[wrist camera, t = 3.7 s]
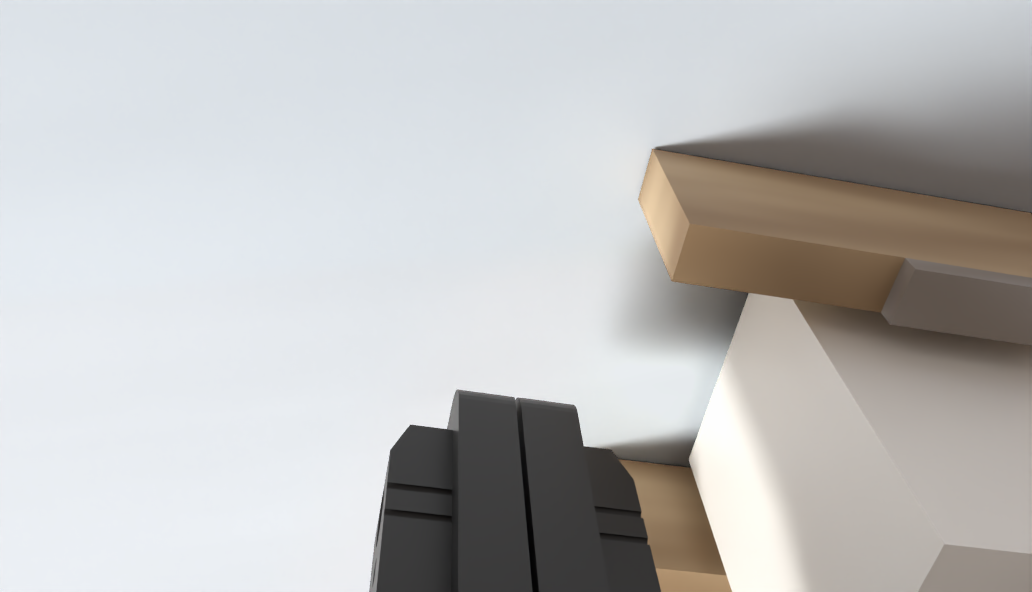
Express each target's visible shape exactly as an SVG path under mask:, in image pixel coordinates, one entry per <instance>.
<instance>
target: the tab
mask: <svg viewBox="0 0 1032 592" xmlns="http://www.w3.org/2000/svg"><path fill="white" fill-rule="evenodd" d="M689 462H690V465H691V468H692V471H693V475H694V478H695V481H696V484H697V487H698V490H699V493H700V496H701V499H702V502H703V505H704V508H705V511H706V514H707V517H708V520H709V523H710V526H711V529H712V532H713V535H714V538H715V541H716V544H717V547H718V550H719V553H720V557H721V560H722V563H723V566H724V569H725V572H726V575H727V578H728V581H729V584H730V587H731V590H732V592H1032V346H1031V345H1025V344H1018V343H1011V342H1004V341H997V340H991V339H984V338H977V337H970V336H963V335H957V334H950V333H943V332H936V331H929V330H923V329H916V328H909V327H902V326H896V325H890V324H889V323H888V321H887V320H886V319H885V317H884V316H883V315H882V313H881V312H874V311H867V310H861V309H854V308H847V307H841V306H834V305H827V304H820V303H814V302H807V301H800V300H794V299H787V298H780V297H774V296H767V295H760V294H753V293H749V294H748V297H747V300H746V302H745V305H744V308H743V311H742V313H741V316H740V319H739V322H738V324H737V327H736V330H735V333H734V335H733V338H732V341H731V344H730V347H729V349H728V352H727V355H726V358H725V360H724V363H723V366H722V369H721V371H720V374H719V377H718V380H717V383H716V385H715V388H714V391H713V394H712V396H711V399H710V402H709V405H708V407H707V410H706V413H705V416H704V419H703V421H702V424H701V427H700V430H699V432H698V435H697V438H696V441H695V443H694V446H693V449H692V452H691V455H690V457H689Z"/></svg>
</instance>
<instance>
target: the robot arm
mask: <svg viewBox="0 0 1032 592" xmlns="http://www.w3.org/2000/svg"><path fill="white" fill-rule="evenodd" d="M641 512H642V511H641V507H640V503H639V499H638V494H637V490H636V486H635V482H634V479H633V478H632V477H631V475H630V474H629V473H628V471H627V470H626V469H625V467H624V466H623V465H622V464H621V462H620V461H619V460H618V458H617V457H616V456H615V454H614V453H613V452H612V450H607V449H599V448H591V447H584V446H583V441H582V435H581V430H580V424H579V419H578V413H577V409H576V407H575V406H574V405H570V404H562V403H555V402H548V401H540V400H533V399H525V398H517V399H516V400H515V398H514V397H508V396H501V395H493V394H486V393H478V392H471V391H463V390H456V392H455V395H454V399H453V403H452V408H451V413H450V418H449V422H448V427H447V429H440V428H432V427H424V426H416V425H410V426H409V427H408V428H407V430H406V431H405V432H404V433H403V435H402V436H401V437H400V439H399V440H398V441H397V442H396V444H395V445H394V446H393V447H392V449H391V450H390V456H389V462H388V467H387V473H386V479H385V485H384V491H383V497H382V502H381V508H380V514H379V520H378V526H377V532H376V537H375V544H374V553H373V562H372V572H371V581H370V590H369V592H661V589H660V585H659V580H658V576H657V572H656V568H655V564H654V560H653V556H652V552H651V548H650V545H648V543H647V542H648V535H647V531H646V527H645V523H644V519H643V518H641Z"/></svg>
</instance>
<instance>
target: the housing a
mask: <svg viewBox="0 0 1032 592" xmlns="http://www.w3.org/2000/svg"><path fill="white" fill-rule="evenodd" d="M638 200H639V203H640V205H641V208H642V210H643V213H644V215H645V217H646V220H647V222H648V225H649V227H650V230H651V232H652V235H653V237H654V239H655V242H656V244H657V247H658V249H659V252H660V254H661V256H662V259H663V261H664V264H665V266H666V269H667V271H668V274H669V276H670V278H671V281H673V282H680V283H686V284H693V285H700V286H706V287H713V288H720V289H727V290H733V291H740V292H747V293H753V294H760V295H767V296H774V297H780V298H787V299H794V300H800V301H807V302H814V303H820V304H827V305H834V306H841V307H847V308H854V309H861V310H867V311H874V312H881V313H882V315H883V316H884V317H885V319H886V320H887V321H888V323H889V324H890V325H896V326H902V327H909V328H916V329H923V330H929V331H936V332H943V333H950V334H957V335H963V336H970V337H977V338H984V339H991V340H997V341H1004V342H1011V343H1018V344H1025V345H1031V346H1032V213H1028V212H1022V211H1016V210H1011V209H1005V208H999V207H993V206H987V205H981V204H975V203H969V202H963V201H957V200H951V199H946V198H940V197H934V196H928V195H922V194H916V193H910V192H904V191H898V190H892V189H887V188H881V187H875V186H869V185H863V184H857V183H851V182H845V181H839V180H833V179H827V178H822V177H816V176H810V175H804V174H798V173H792V172H786V171H780V170H774V169H768V168H762V167H757V166H751V165H745V164H739V163H733V162H727V161H721V160H715V159H709V158H703V157H698V156H692V155H686V154H680V153H674V152H668V151H662V150H656V149H652V152H651V155H650V159H649V163H648V166H647V170H646V173H645V177H644V180H643V184H642V188H641V191H640V195H639V198H638ZM618 460H619V461H620V462H621V464H622V465H623V466H624V467H625V469H626V470H627V471H628V473H629V474H630V475H631V477H632V478H633V479H634V482H635V486H636V490H637V494H638V499H639V503H640V507H641V511H642V512H641V518H643V519H644V523H645V527H646V531H647V535H648V542H647V543H648V545H650V548H651V552H652V556H653V560H654V564H655V568H656V572H657V576H658V580H659V585H660V589H661V592H732V590H731V587H730V584H729V581H728V578H727V575H726V572H725V569H724V566H723V563H722V560H721V557H720V553H719V550H718V547H717V544H716V541H715V538H714V535H713V532H712V529H711V526H710V523H709V520H708V517H707V514H706V511H705V508H704V505H703V502H702V499H701V496H700V493H699V490H698V487H697V484H696V481H695V478H694V475H693V471H692V468H689V467H680V466H672V465H664V464H655V463H647V462H639V461H630V460H622V459H618Z"/></svg>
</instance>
